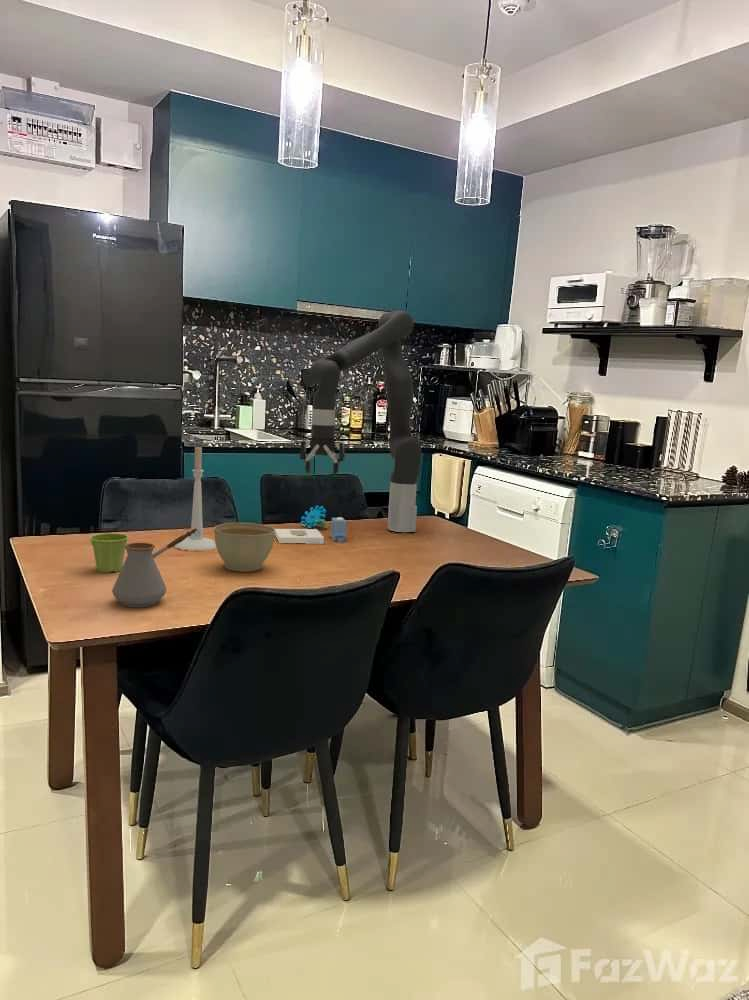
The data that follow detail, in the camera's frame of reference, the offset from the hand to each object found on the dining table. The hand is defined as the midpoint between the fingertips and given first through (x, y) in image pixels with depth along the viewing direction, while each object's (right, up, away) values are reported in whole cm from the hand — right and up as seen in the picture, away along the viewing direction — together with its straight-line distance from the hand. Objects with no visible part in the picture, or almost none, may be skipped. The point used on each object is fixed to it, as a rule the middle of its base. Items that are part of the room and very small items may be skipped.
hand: (321, 473), depth 239 cm
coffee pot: (-32, -31, -72) cm, 84 cm away
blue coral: (-4, -19, +17) cm, 25 cm away
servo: (+5, -21, +1) cm, 22 cm away
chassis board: (-7, -21, -3) cm, 23 cm away
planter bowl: (-18, -27, -42) cm, 53 cm away
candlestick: (-36, -23, -21) cm, 47 cm away
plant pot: (-51, -27, -51) cm, 77 cm away
